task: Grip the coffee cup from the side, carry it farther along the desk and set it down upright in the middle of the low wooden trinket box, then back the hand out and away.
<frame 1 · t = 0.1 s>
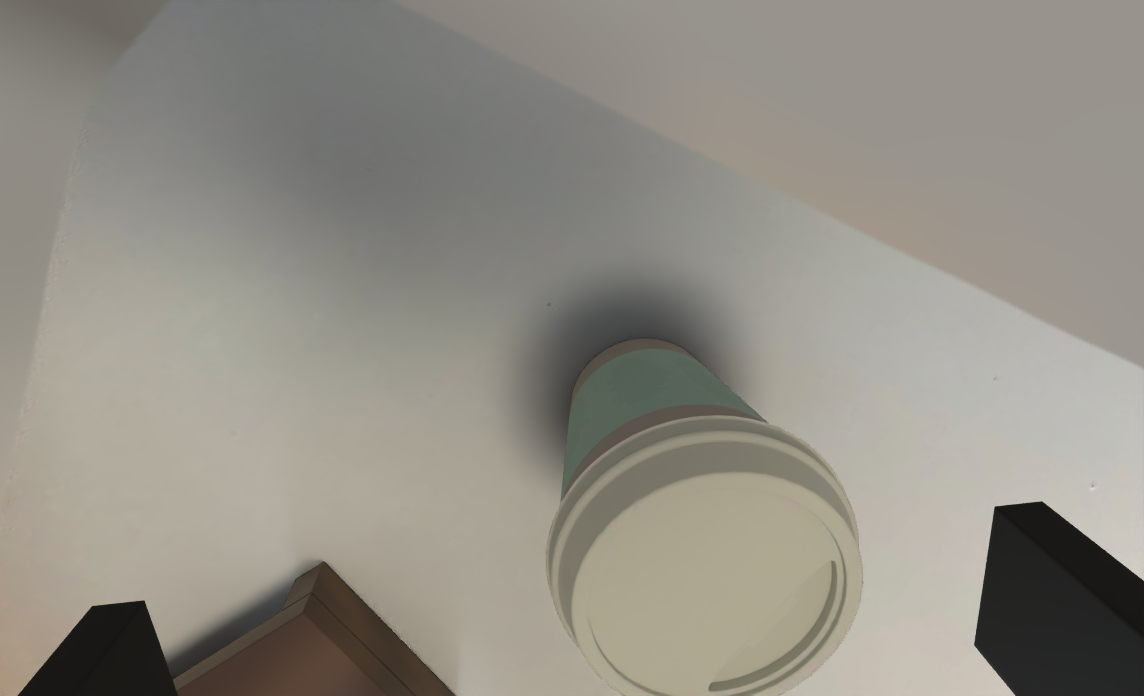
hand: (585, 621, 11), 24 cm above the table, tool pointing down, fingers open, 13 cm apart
coffee cup: (640, 402, 36), on the table
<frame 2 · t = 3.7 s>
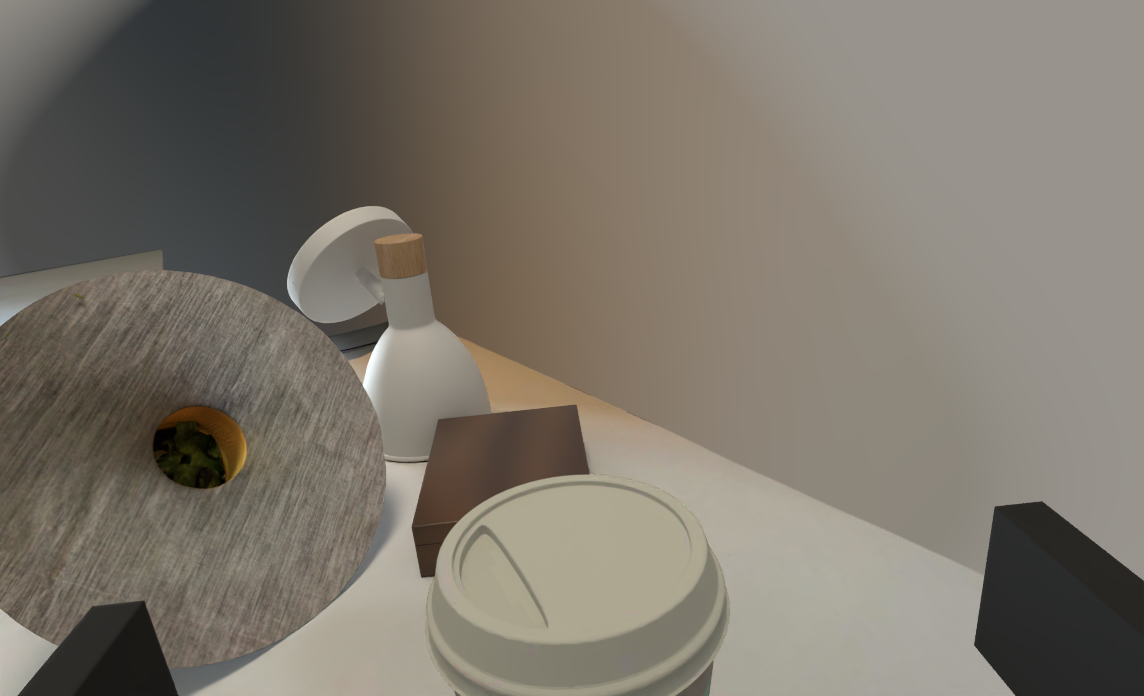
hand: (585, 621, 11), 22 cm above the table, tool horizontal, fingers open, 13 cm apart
light fixture: (412, 426, 69), on the table
wooden trinket box: (511, 501, 55), on the table
grey round piece: (226, 575, 49), on the table
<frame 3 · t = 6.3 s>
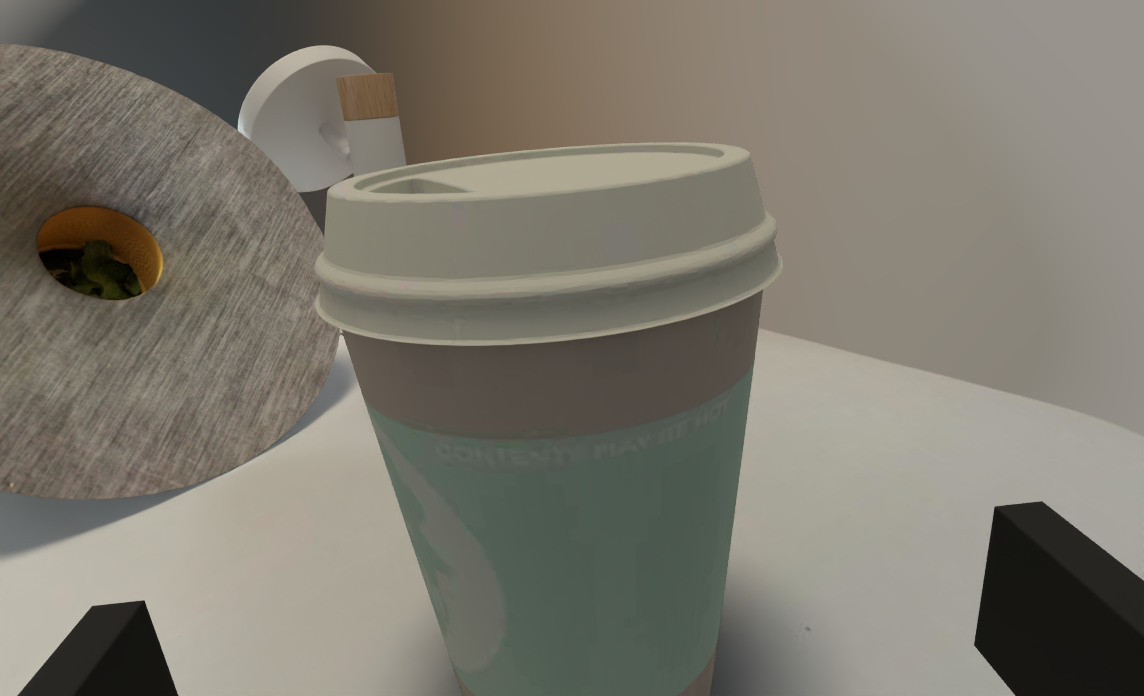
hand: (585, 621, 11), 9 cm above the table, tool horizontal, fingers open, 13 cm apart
coffee cup: (588, 681, 21), on the table
light fixture: (384, 310, 61), on the table
grey round piece: (146, 432, 41), on the table
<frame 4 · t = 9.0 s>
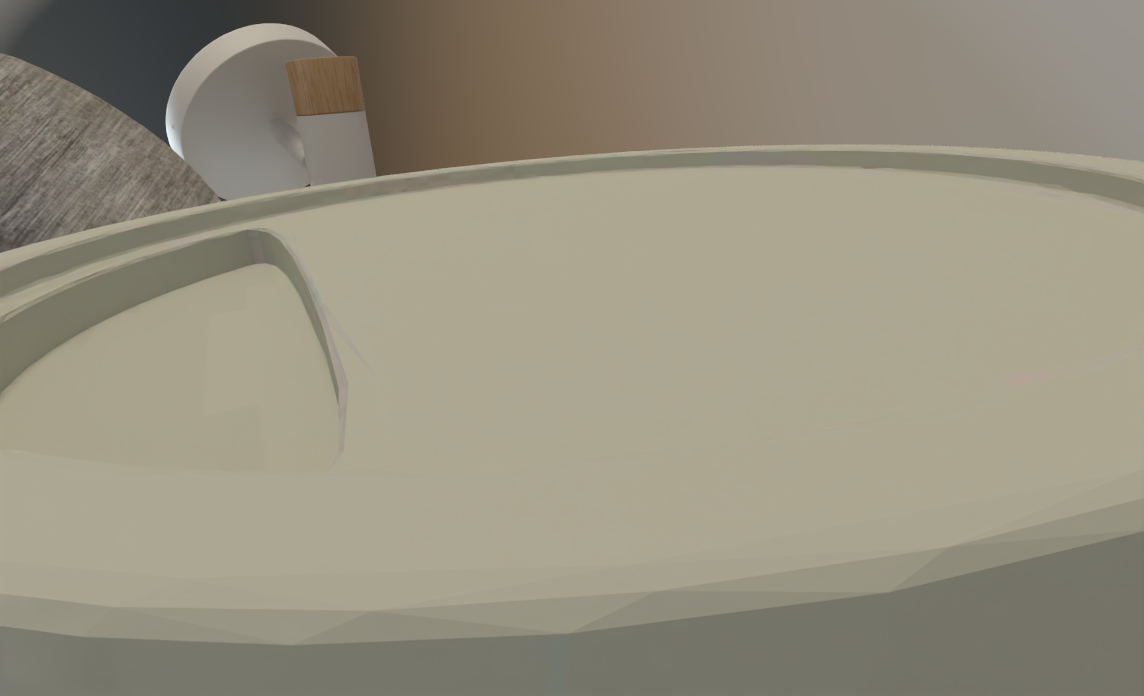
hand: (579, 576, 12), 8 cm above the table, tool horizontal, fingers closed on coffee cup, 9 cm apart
light fixture: (352, 345, 51), on the table
grey round piece: (12, 531, 31), on the table
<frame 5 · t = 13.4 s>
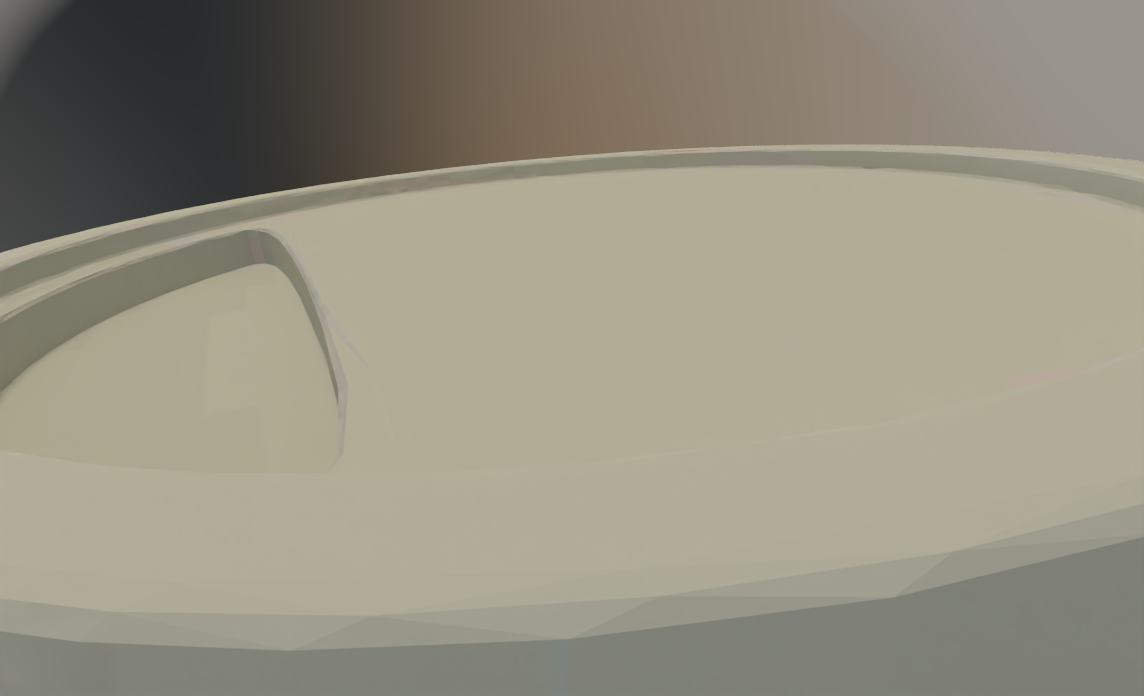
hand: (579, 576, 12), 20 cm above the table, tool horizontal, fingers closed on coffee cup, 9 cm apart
when the fingers open (12 cm above the table, at t = 18.1 s): coffee cup stays where it is, resting on wooden trinket box.
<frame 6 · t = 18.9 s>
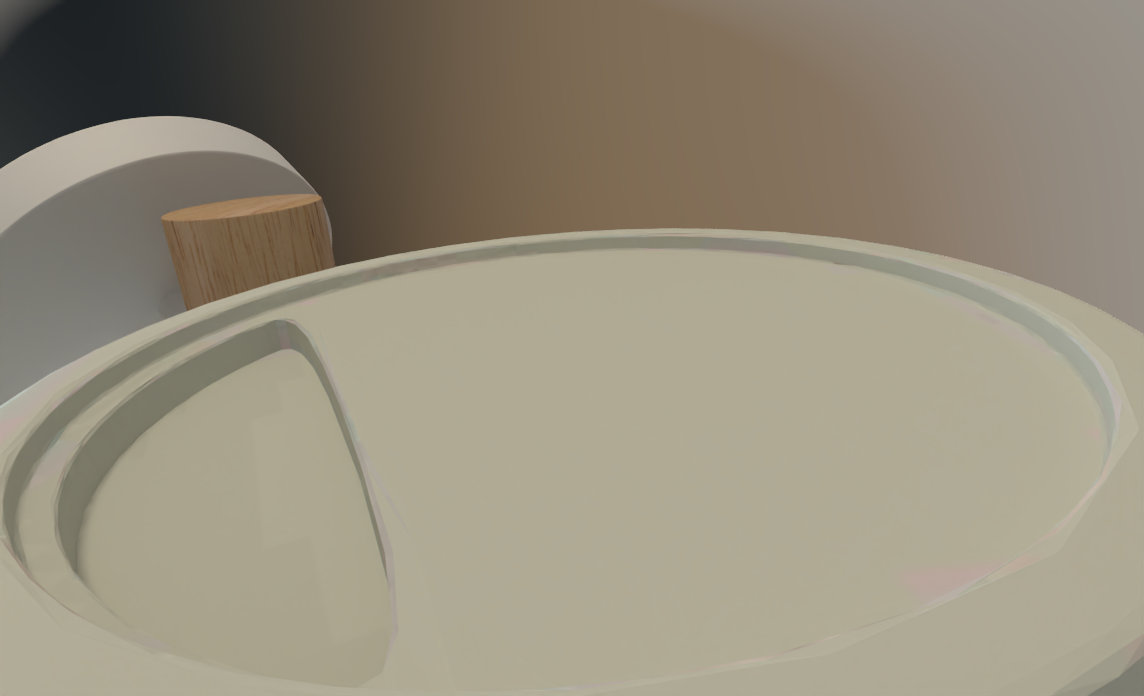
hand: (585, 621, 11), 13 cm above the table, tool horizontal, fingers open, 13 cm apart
light fixture: (322, 687, 28), on the table
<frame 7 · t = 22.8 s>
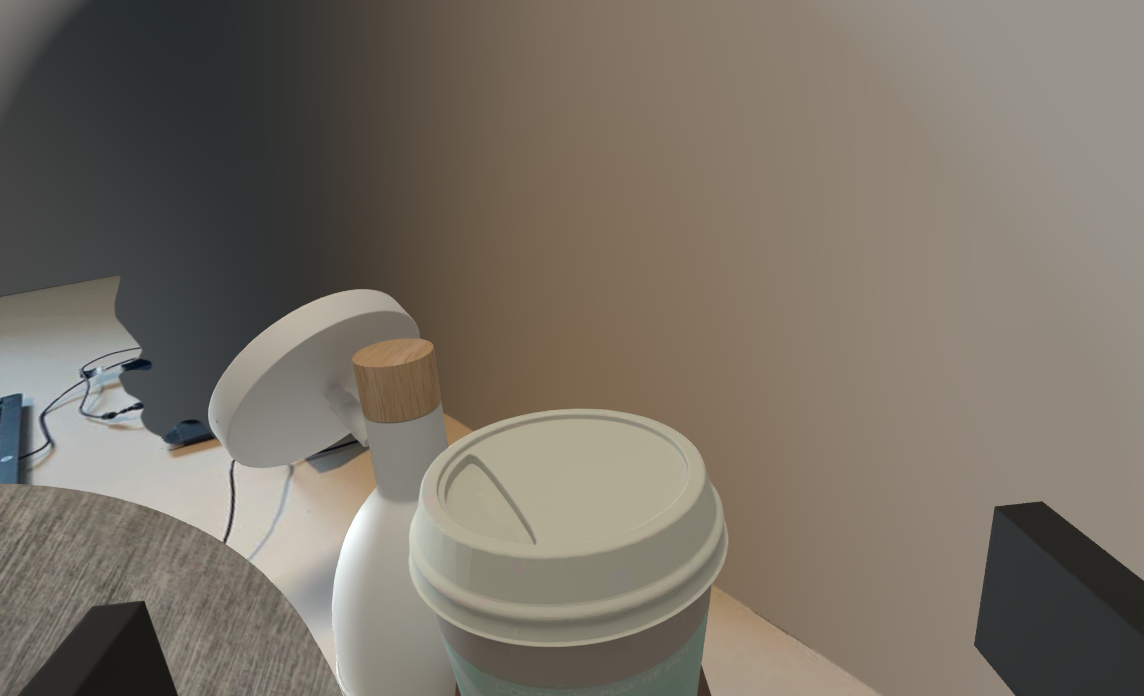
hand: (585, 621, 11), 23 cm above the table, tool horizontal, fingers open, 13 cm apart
light fixture: (413, 624, 44), on the table
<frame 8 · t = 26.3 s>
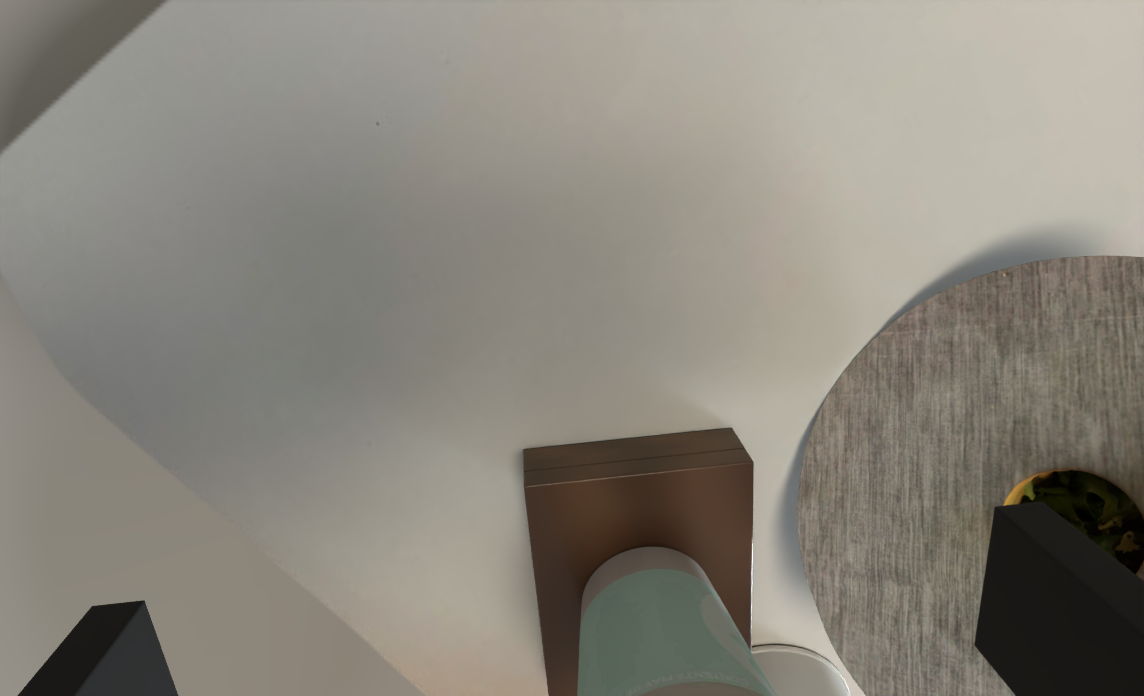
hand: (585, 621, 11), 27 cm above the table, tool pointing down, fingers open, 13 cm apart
coffee cup: (645, 597, 39), point 4 cm above the table, touching wooden trinket box
wooden trinket box: (635, 555, 43), on the table
grey round piece: (962, 446, 42), on the table
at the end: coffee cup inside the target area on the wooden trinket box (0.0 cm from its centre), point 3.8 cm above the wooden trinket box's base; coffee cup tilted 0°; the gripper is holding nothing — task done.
